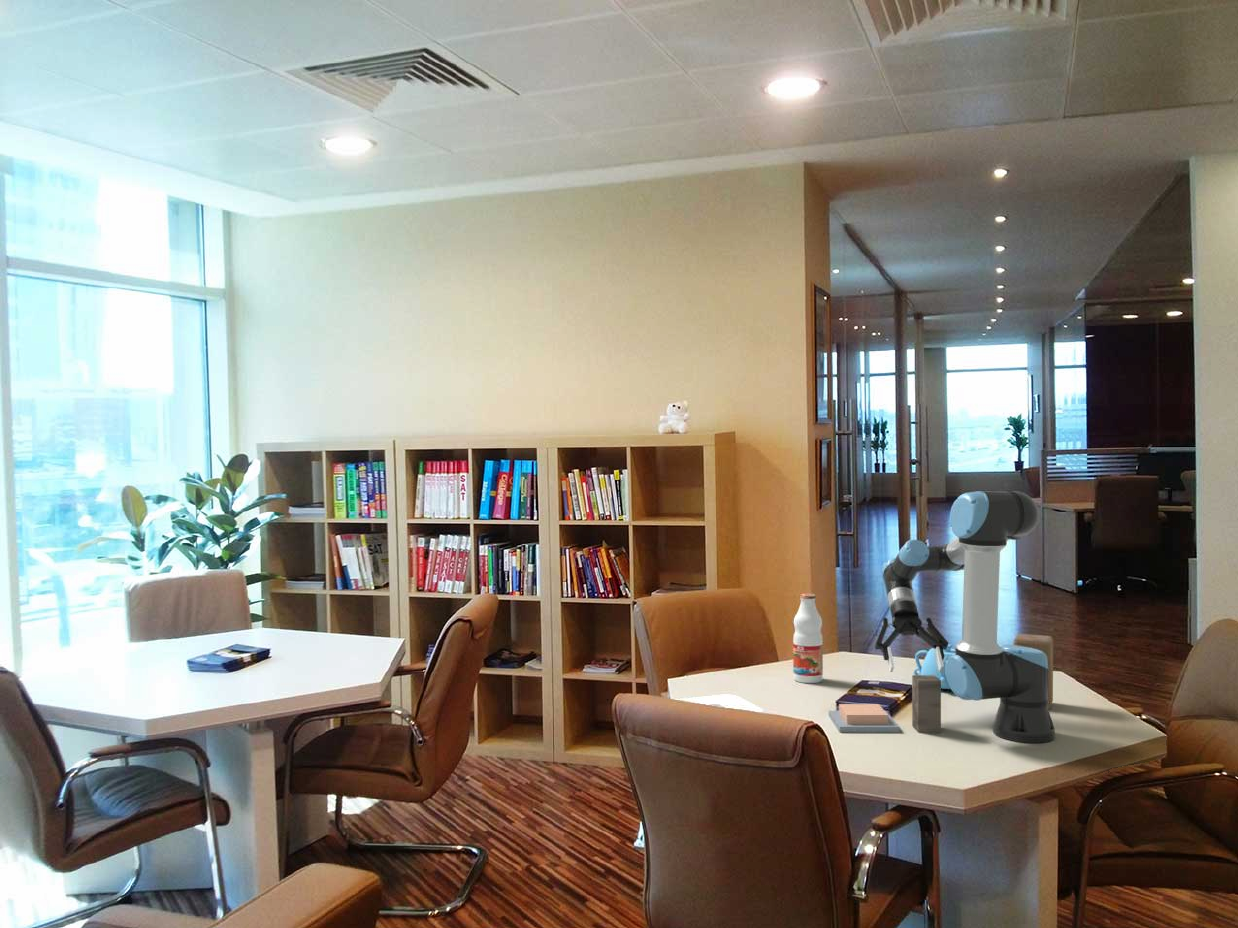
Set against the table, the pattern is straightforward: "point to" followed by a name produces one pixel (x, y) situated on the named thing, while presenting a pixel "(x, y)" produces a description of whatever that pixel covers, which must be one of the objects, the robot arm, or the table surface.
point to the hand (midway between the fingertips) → (916, 669)
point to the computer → (726, 702)
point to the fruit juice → (807, 642)
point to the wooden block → (1045, 646)
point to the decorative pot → (934, 665)
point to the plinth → (863, 726)
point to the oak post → (926, 703)
